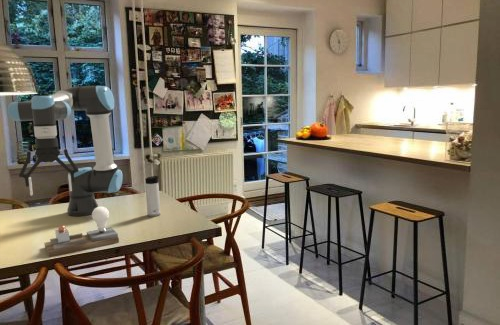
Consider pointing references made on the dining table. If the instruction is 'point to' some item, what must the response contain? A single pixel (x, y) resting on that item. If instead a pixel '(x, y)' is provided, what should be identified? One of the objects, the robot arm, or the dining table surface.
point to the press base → (82, 242)
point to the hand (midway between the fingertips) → (51, 192)
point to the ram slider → (62, 235)
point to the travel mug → (152, 196)
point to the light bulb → (100, 217)
